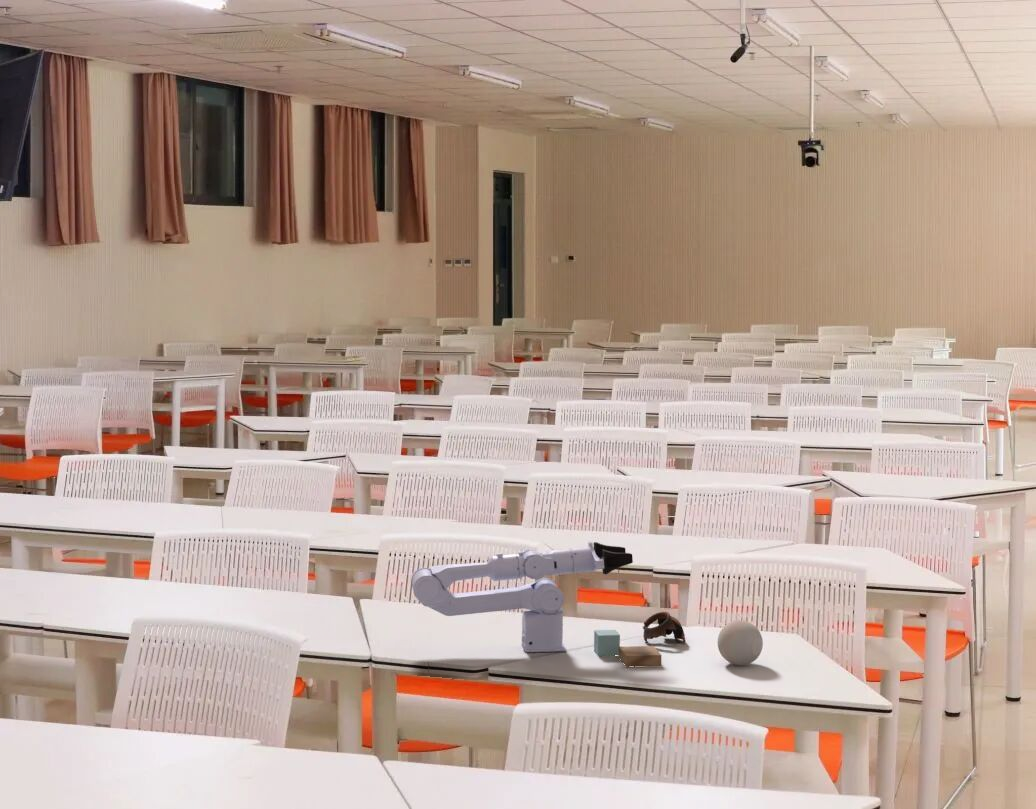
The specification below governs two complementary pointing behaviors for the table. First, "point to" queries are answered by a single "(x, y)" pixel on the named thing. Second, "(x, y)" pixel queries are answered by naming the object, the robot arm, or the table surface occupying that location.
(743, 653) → the grey sphere
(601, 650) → the cube
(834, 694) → the table surface
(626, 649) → the slab
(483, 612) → the robot arm
